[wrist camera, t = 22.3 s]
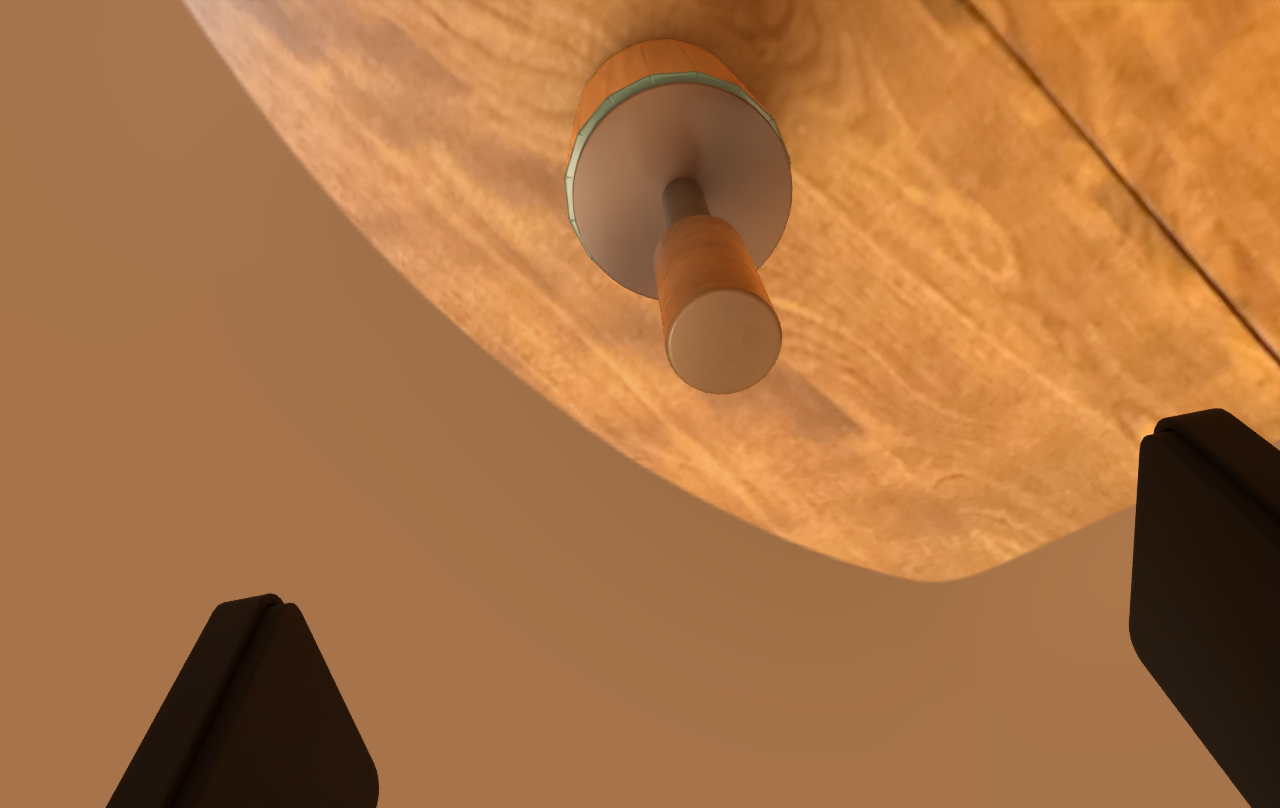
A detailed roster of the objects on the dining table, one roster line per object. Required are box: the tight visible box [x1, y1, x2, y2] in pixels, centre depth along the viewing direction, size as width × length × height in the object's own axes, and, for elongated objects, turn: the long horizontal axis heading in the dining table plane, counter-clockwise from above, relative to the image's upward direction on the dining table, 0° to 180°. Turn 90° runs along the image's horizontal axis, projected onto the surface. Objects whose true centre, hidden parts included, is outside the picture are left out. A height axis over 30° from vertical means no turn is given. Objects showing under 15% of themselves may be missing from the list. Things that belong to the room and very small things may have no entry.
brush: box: [572, 81, 792, 394], centre depth 26 cm, size 6×6×19 cm
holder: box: [565, 39, 791, 265], centre depth 31 cm, size 7×7×9 cm
